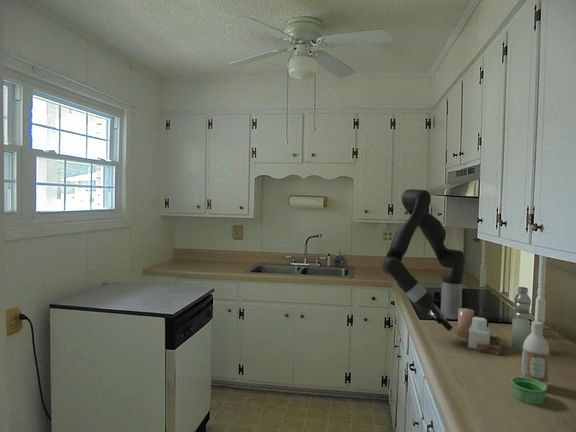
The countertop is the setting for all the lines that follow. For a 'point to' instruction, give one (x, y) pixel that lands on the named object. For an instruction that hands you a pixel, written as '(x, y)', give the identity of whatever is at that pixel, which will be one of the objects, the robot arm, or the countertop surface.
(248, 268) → the countertop surface
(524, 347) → the bath foam
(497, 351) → the corral
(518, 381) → the ramekin
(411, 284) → the robot arm
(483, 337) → the medicine bottle
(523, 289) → the plastic bottle
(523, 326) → the sage canister
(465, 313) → the terracotta canister
